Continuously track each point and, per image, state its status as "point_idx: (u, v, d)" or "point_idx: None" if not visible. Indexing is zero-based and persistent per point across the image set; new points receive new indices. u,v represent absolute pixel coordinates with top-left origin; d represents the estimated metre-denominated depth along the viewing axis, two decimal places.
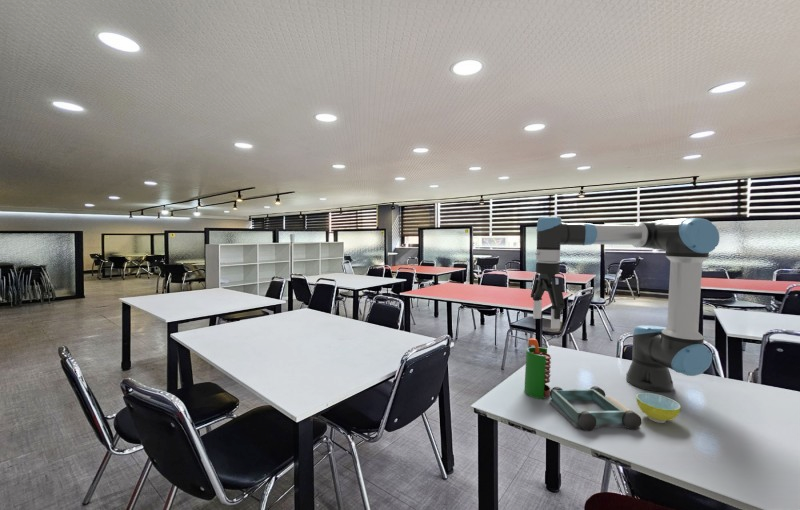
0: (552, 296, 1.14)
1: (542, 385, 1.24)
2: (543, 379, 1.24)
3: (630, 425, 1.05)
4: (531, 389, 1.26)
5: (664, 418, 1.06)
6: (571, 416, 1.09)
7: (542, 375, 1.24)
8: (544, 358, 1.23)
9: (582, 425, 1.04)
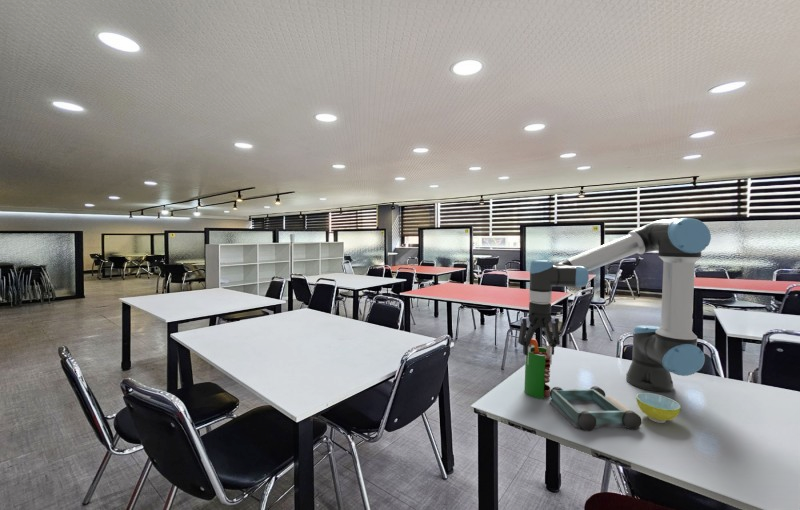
0: (527, 334, 1.29)
1: (542, 385, 1.24)
2: (543, 379, 1.24)
3: (630, 425, 1.05)
4: (531, 389, 1.26)
5: (664, 418, 1.06)
6: (571, 416, 1.09)
7: (542, 375, 1.24)
8: (544, 358, 1.23)
9: (582, 425, 1.04)
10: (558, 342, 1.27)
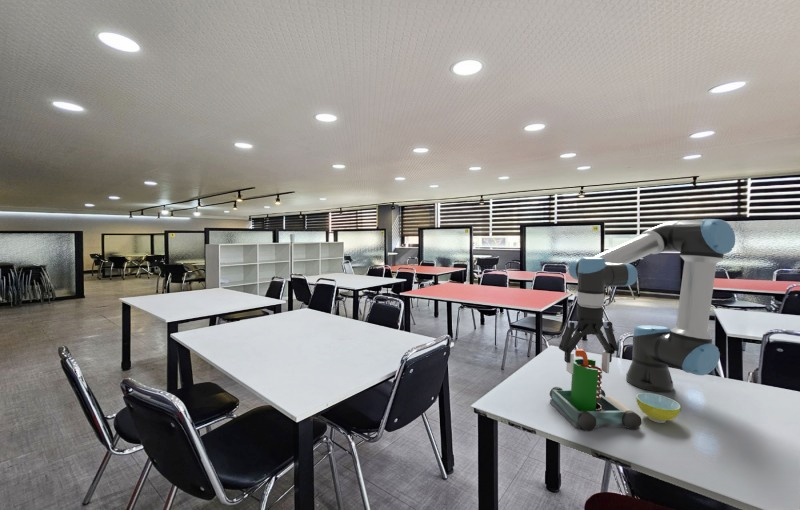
0: (571, 339, 1.13)
1: (593, 403, 1.08)
2: (595, 396, 1.08)
3: (630, 425, 1.05)
4: (580, 407, 1.10)
5: (664, 418, 1.06)
6: (571, 416, 1.09)
7: (594, 392, 1.08)
8: (596, 372, 1.08)
9: (582, 425, 1.04)
10: (616, 348, 1.12)
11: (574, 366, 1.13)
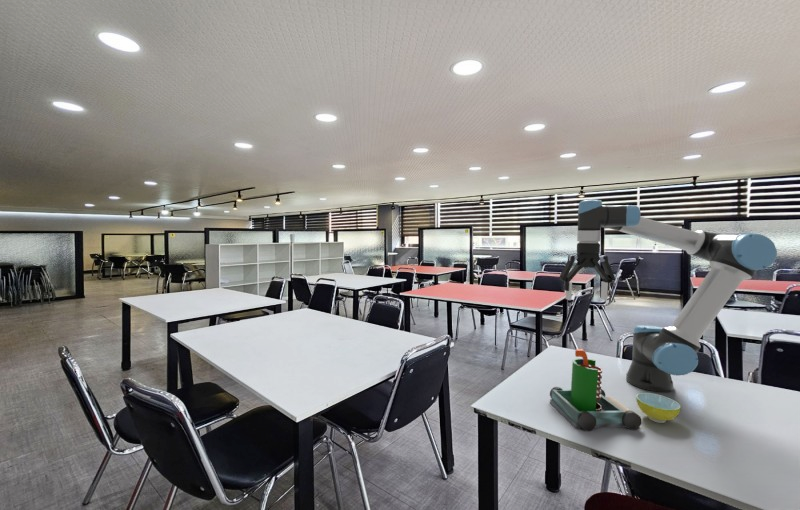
0: (570, 271, 1.29)
1: (593, 403, 1.08)
2: (595, 396, 1.08)
3: (630, 425, 1.05)
4: (580, 407, 1.10)
5: (664, 418, 1.06)
6: (571, 416, 1.09)
7: (594, 392, 1.08)
8: (596, 372, 1.08)
9: (582, 425, 1.04)
10: (613, 278, 1.28)
11: (574, 366, 1.13)
